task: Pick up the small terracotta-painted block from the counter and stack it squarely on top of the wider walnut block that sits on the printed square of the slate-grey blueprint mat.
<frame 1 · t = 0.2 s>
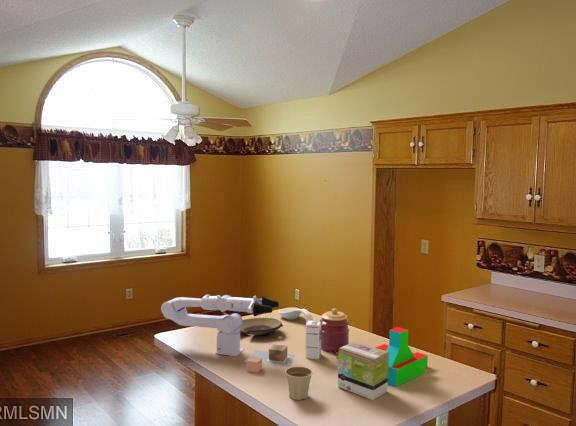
hand: (275, 307, 202), 21 cm above the table, tool horizontal, fingers open, 7 cm apart
tea box: (362, 390, 175), on the table
canister: (333, 348, 216), on the table
walnut block: (278, 358, 203), resting on blueprint mat
terracotta block: (254, 370, 191), on the table
building blocks toy: (394, 371, 193), on the table
syrup box: (313, 357, 206), on the table
blueprint mat: (270, 359, 203), on the table
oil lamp: (253, 332, 238), on the table
flower pot: (298, 396, 169), on the table
spoon rest: (296, 321, 257), on the table
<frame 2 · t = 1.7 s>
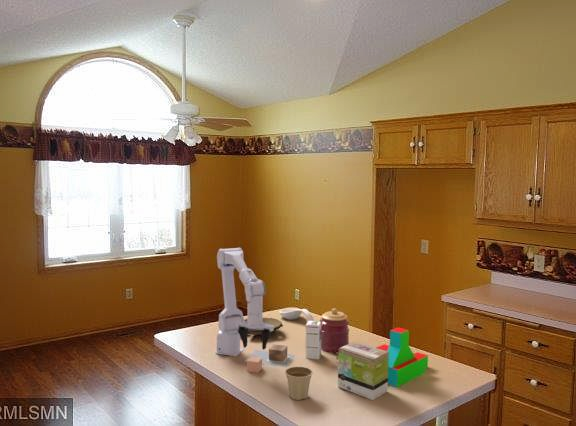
hand: (254, 347, 190), 9 cm above the table, tool pointing down, fingers open, 7 cm apart
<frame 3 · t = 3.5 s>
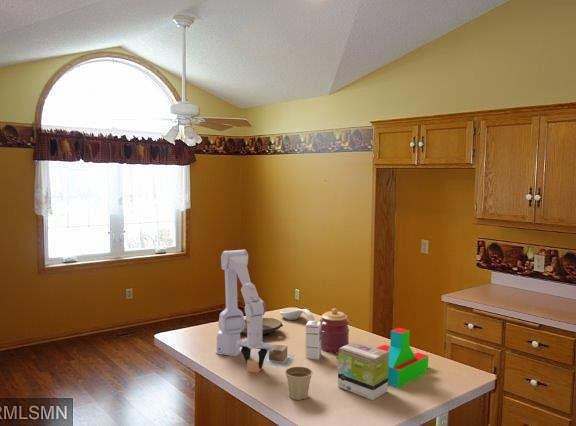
hand: (254, 366, 191), 1 cm above the table, tool pointing down, fingers closed on terracotta block, 4 cm apart
terracotta block: (254, 370, 191), on the table, touching gripper
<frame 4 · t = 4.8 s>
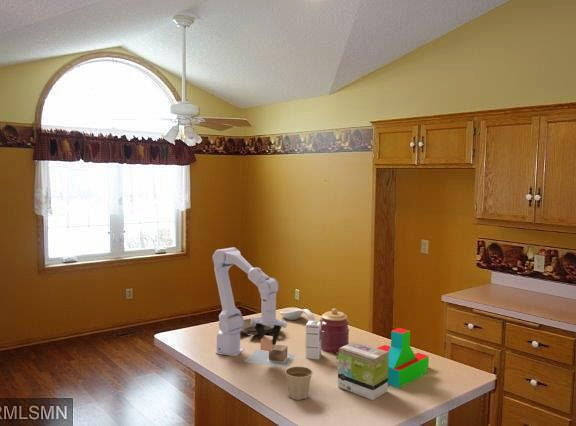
hand: (268, 343, 197), 8 cm above the table, tool pointing down, fingers closed on terracotta block, 4 cm apart
terracotta block: (267, 348, 197), point 6 cm above the table, touching gripper
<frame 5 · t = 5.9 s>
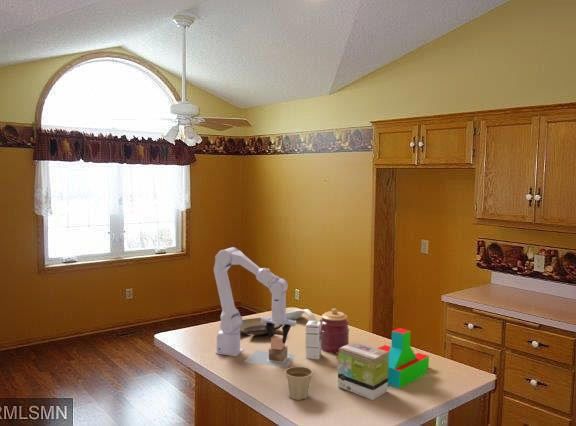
hand: (278, 341, 202), 7 cm above the table, tool pointing down, fingers closed on terracotta block, 4 cm apart
terracotta block: (277, 347, 202), point 5 cm above the table, touching gripper
when the fingers open (7 cm above the table, at t = 6.4 s): terracotta block stays where it is, resting on walnut block.
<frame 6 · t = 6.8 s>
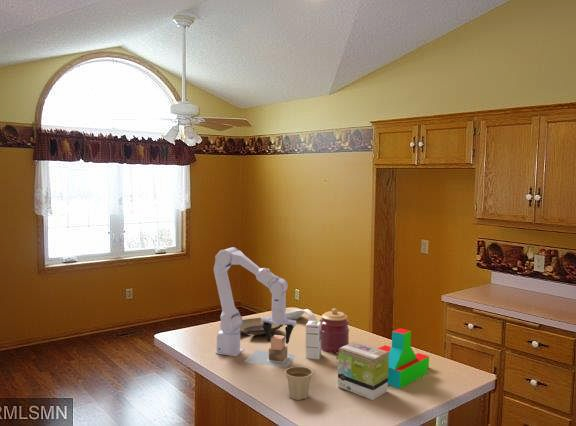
hand: (278, 341, 202), 7 cm above the table, tool pointing down, fingers open, 7 cm apart
walnut block: (278, 358, 203), resting on blueprint mat, touching terracotta block
terracotta block: (277, 347, 202), point 5 cm above the table, touching walnut block
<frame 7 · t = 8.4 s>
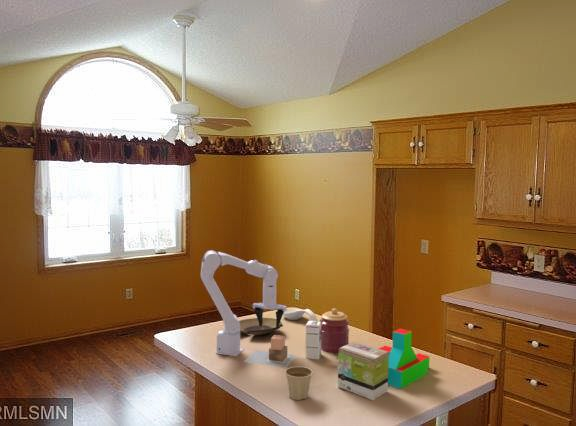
hand: (269, 326, 212), 10 cm above the table, tool pointing down, fingers open, 7 cm apart
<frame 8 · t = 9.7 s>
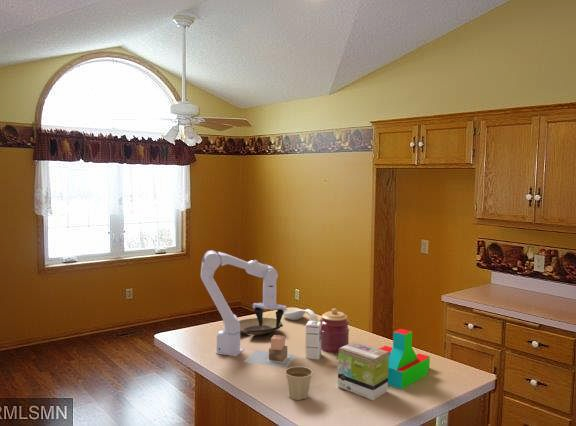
hand: (269, 326, 212), 10 cm above the table, tool pointing down, fingers open, 7 cm apart
at the end: terracotta block 0.5 cm off-centre on the walnut block, point 4.5 cm above the walnut block's base; terracotta block tilted 0°; the gripper is holding nothing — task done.
